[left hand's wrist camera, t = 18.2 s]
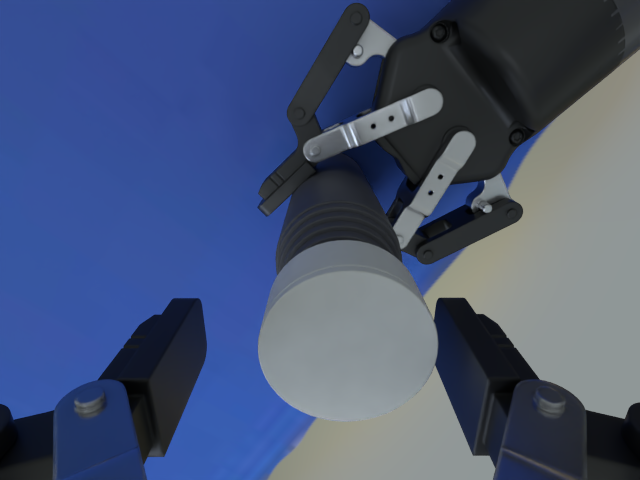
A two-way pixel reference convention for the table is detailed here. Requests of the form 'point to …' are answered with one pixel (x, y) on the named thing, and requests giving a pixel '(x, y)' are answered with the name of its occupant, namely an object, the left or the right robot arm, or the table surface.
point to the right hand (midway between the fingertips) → (300, 241)
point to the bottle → (334, 212)
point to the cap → (346, 333)
